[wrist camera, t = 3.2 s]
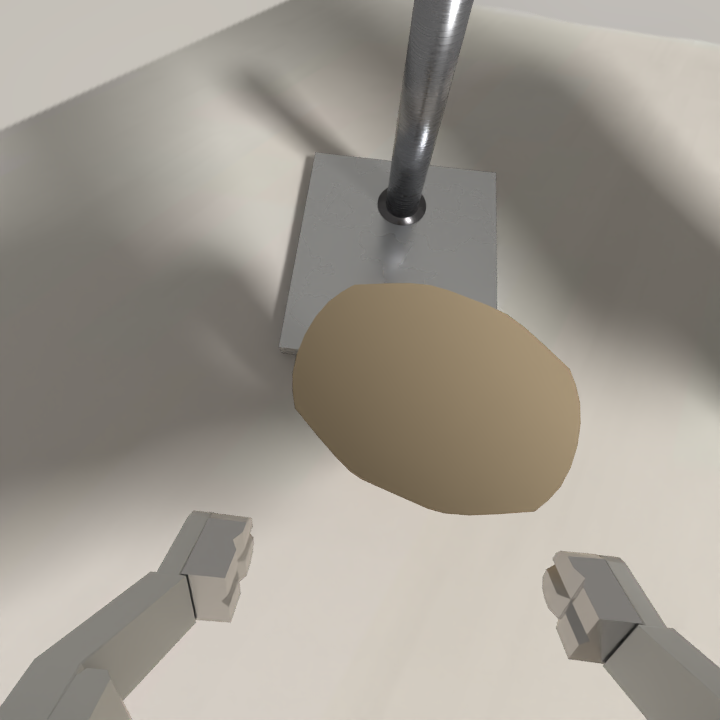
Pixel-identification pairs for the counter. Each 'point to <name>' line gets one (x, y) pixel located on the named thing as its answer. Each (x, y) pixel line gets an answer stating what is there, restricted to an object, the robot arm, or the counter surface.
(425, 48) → the lever with round knob
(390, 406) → the handle
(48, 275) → the counter surface
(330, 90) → the counter surface
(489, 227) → the plate
